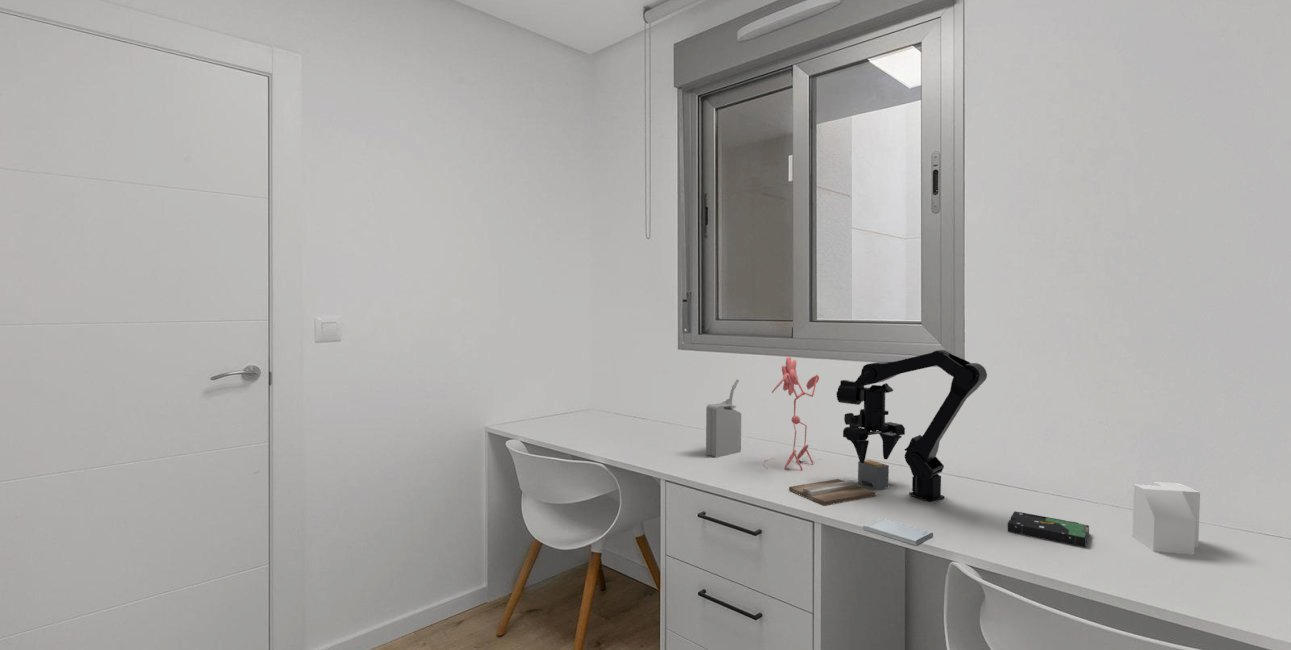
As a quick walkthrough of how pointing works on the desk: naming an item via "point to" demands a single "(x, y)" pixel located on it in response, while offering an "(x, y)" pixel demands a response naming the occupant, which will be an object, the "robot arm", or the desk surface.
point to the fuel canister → (723, 428)
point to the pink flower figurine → (789, 381)
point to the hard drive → (898, 531)
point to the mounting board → (832, 491)
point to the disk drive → (1049, 528)
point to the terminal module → (873, 474)
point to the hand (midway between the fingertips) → (873, 460)
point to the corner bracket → (1166, 517)
